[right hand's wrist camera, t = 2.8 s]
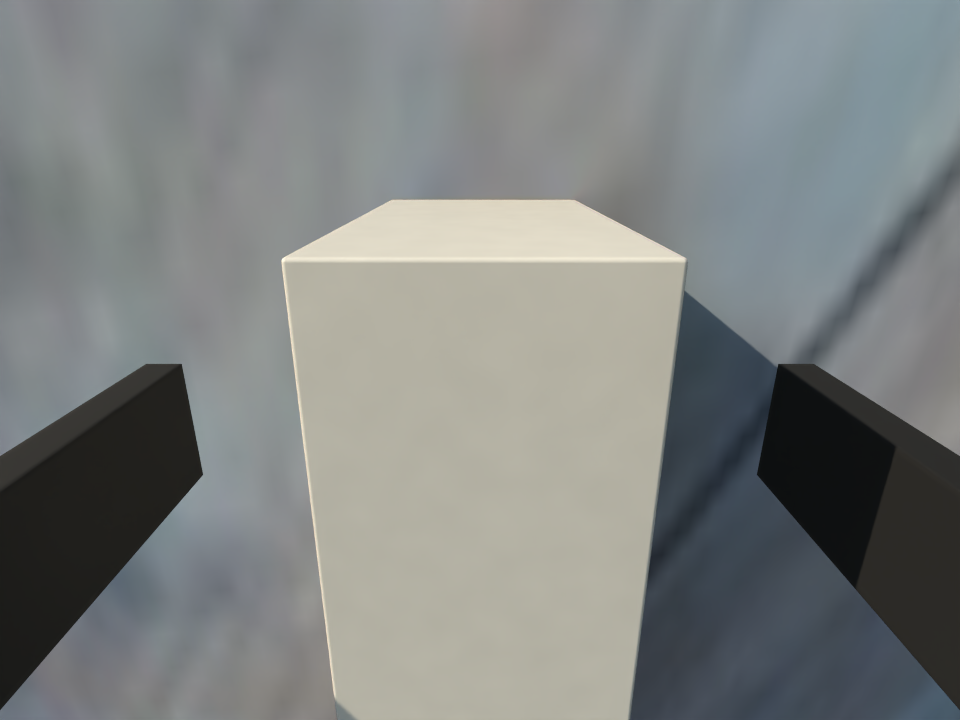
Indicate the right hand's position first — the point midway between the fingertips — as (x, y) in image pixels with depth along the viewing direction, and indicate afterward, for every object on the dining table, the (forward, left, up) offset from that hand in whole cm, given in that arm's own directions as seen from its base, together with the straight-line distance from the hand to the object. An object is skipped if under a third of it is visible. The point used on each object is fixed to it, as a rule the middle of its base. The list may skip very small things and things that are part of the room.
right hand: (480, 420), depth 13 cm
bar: (0, +11, -3) cm, 11 cm away
